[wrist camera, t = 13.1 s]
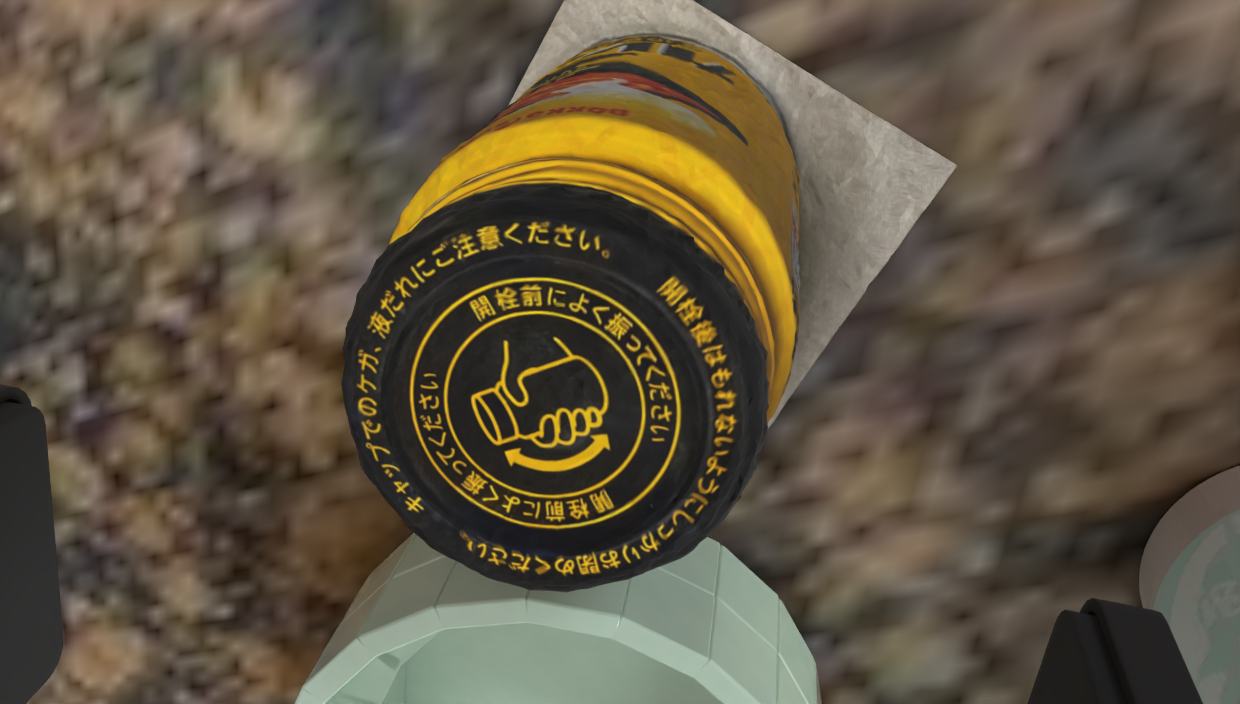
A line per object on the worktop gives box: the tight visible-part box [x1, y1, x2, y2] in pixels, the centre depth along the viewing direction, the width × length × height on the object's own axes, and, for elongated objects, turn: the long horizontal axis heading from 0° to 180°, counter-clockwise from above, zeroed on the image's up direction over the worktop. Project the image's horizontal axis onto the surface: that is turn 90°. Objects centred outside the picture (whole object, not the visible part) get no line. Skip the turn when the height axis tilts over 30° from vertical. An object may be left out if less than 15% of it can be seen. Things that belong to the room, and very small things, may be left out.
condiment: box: [341, 0, 957, 592], centre depth 20 cm, size 7×8×12 cm
